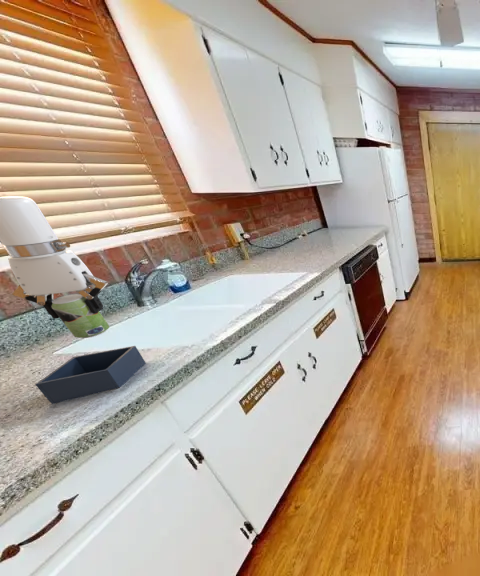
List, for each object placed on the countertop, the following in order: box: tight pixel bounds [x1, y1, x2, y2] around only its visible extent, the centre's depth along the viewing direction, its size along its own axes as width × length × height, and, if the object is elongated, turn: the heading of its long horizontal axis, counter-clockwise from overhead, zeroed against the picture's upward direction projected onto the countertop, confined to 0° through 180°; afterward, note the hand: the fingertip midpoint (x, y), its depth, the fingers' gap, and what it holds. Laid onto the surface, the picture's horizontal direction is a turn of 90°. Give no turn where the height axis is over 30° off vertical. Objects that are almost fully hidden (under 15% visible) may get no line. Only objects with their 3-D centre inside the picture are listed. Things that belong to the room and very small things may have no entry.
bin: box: [34, 345, 147, 405], centre depth 81 cm, size 12×12×7 cm
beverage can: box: [51, 293, 110, 339], centre depth 79 cm, size 6×7×12 cm
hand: (79, 313), depth 79 cm, fingers closed on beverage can, 6 cm apart
